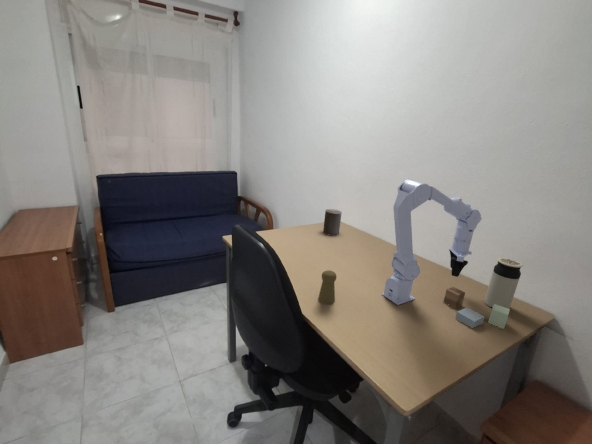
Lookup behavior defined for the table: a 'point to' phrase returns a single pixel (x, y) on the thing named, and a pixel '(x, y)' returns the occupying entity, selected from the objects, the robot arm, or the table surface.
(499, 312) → the sage block
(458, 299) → the walnut block
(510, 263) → the travel mug
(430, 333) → the table surface
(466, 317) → the slate slab
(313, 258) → the table surface
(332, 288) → the olive pawn
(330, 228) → the pillar candle
